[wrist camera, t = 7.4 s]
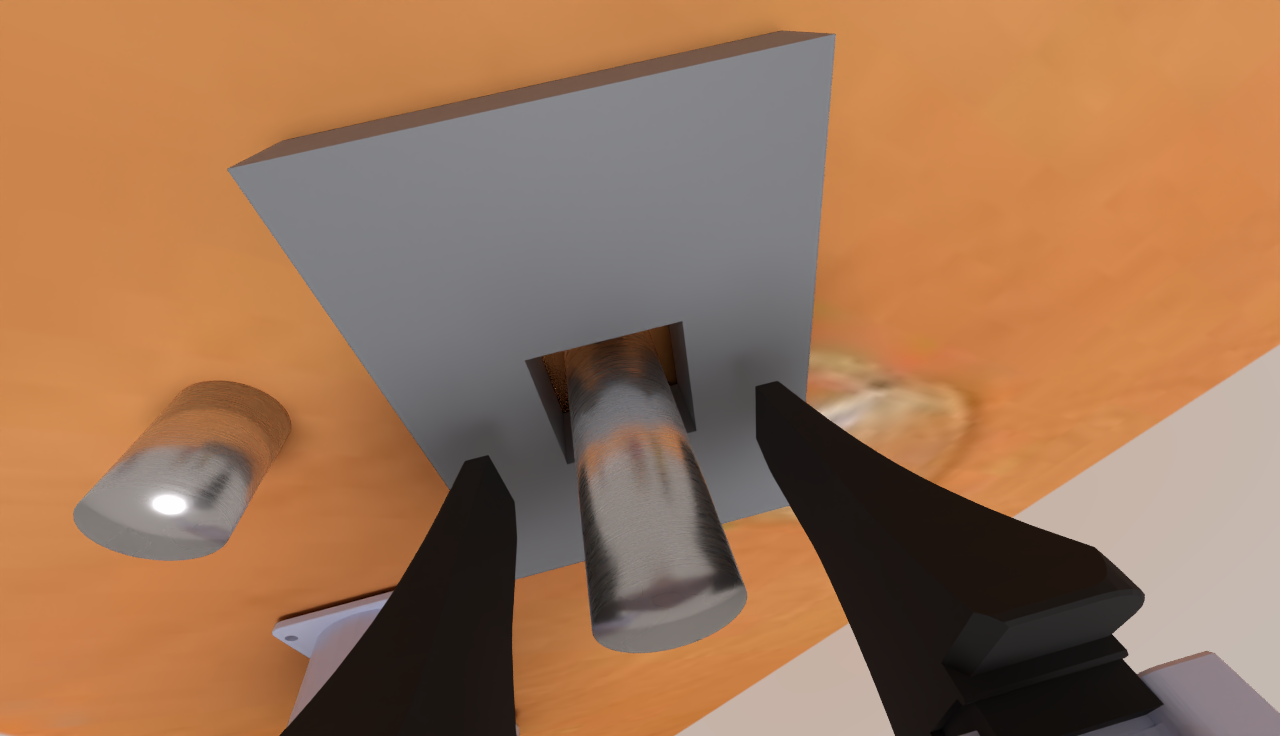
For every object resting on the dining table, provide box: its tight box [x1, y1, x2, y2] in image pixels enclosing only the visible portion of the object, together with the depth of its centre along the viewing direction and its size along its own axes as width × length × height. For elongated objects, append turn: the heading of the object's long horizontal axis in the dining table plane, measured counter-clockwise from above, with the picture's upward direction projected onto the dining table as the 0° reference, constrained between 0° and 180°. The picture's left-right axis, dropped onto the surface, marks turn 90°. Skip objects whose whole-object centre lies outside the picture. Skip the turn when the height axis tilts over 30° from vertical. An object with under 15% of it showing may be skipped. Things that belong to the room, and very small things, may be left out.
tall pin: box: [564, 330, 747, 653], centre depth 12 cm, size 3×3×9 cm
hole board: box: [227, 31, 836, 580], centre depth 15 cm, size 16×12×2 cm
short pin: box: [73, 381, 291, 561], centre depth 13 cm, size 3×3×4 cm
